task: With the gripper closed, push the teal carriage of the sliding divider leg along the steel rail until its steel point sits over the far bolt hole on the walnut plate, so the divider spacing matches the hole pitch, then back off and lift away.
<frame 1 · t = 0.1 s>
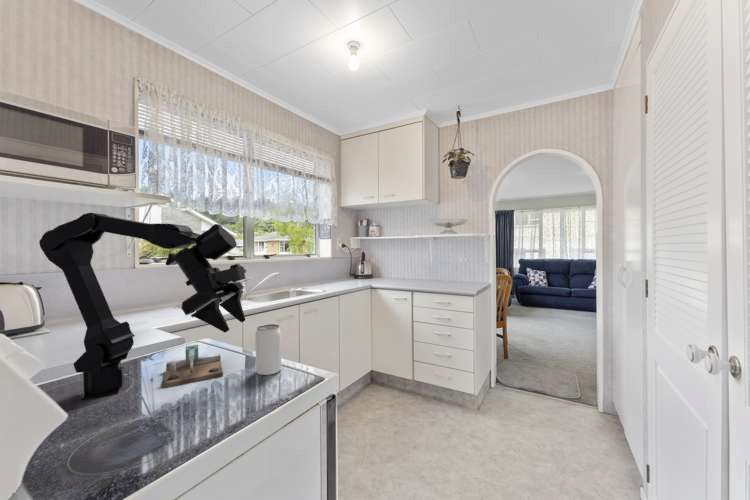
hand: (235, 326, 74), 15 cm above the counter, tool tilted 35°, fingers open, 9 cm apart
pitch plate: (194, 373, 83), on the counter
can: (268, 371, 84), on the counter
divider leg: (191, 358, 84), point 4 cm above the counter, slide at 4.0 cm
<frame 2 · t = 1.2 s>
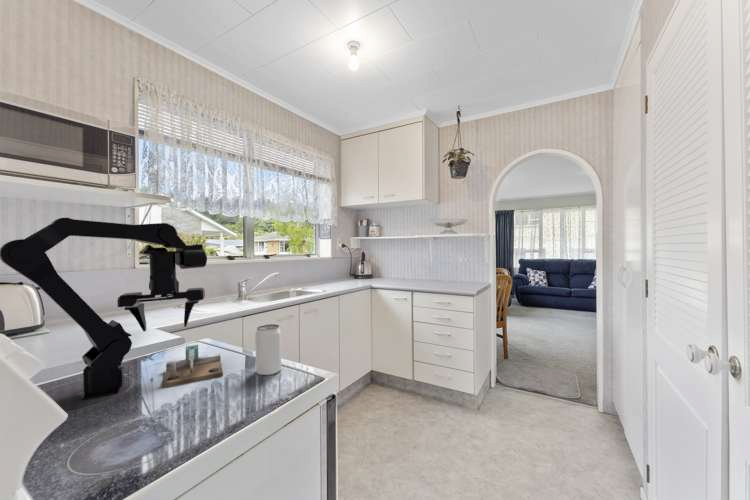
hand: (165, 328, 84), 12 cm above the counter, tool pointing down, fingers open, 9 cm apart
nothing on the counter moved.
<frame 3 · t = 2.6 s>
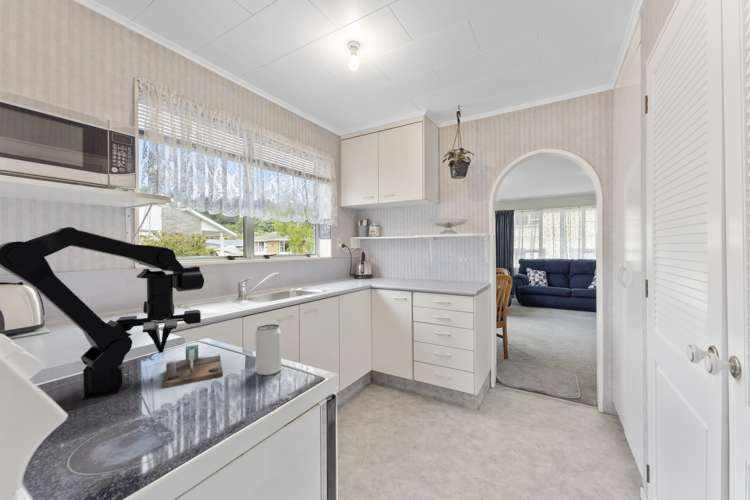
hand: (161, 352, 84), 6 cm above the counter, tool pointing down, fingers closed
nothing on the counter moved.
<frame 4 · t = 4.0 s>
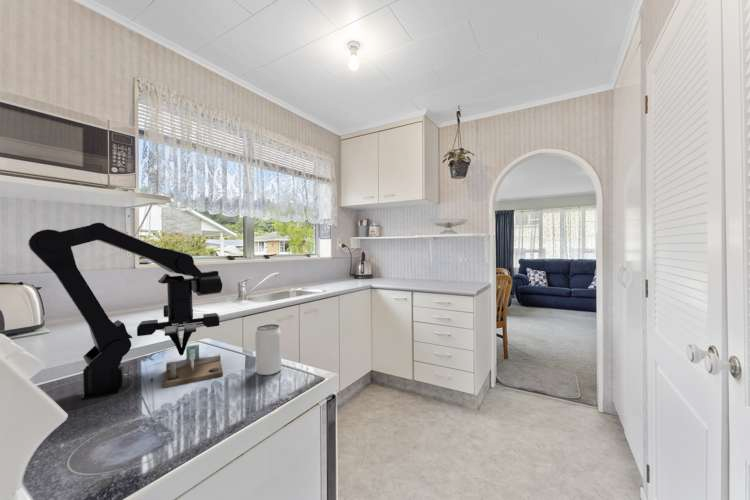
hand: (181, 354, 86), 4 cm above the counter, tool pointing down, fingers closed
divider leg: (192, 358, 84), point 4 cm above the counter, slide at 4.2 cm, touching gripper
everything else where it was.
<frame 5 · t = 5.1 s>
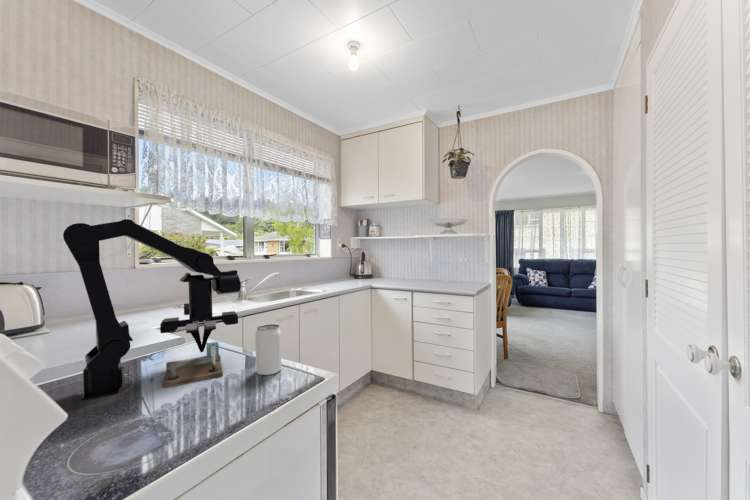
hand: (201, 351, 88), 4 cm above the counter, tool pointing down, fingers closed
divider leg: (213, 355, 87), point 4 cm above the counter, slide at 9.1 cm, touching gripper
everything else where it was.
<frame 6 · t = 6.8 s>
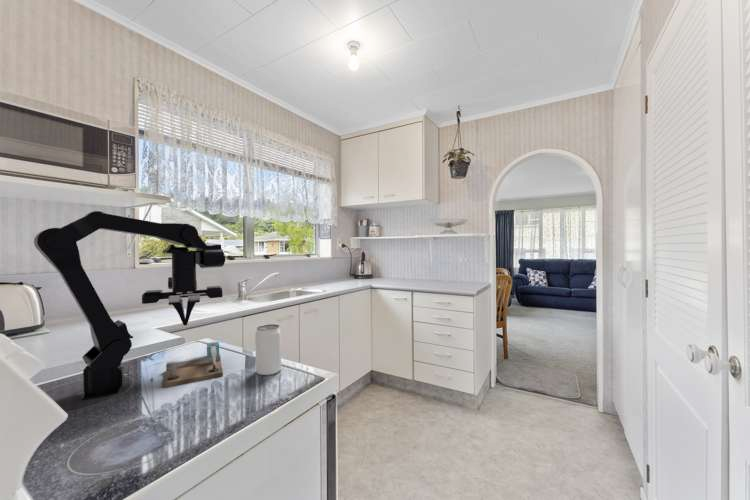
hand: (185, 325, 87), 12 cm above the counter, tool pointing down, fingers closed
divider leg: (213, 355, 87), point 4 cm above the counter, slide at 9.2 cm
everything else where it was.
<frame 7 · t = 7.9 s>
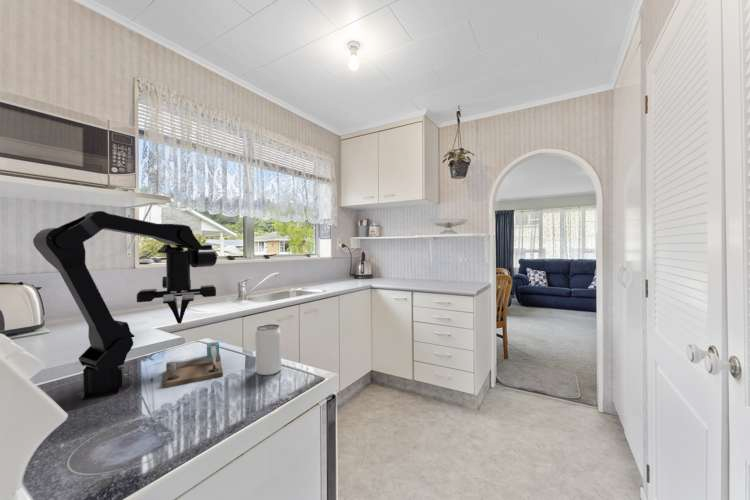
hand: (179, 323, 89), 12 cm above the counter, tool pointing down, fingers closed
nothing on the counter moved.
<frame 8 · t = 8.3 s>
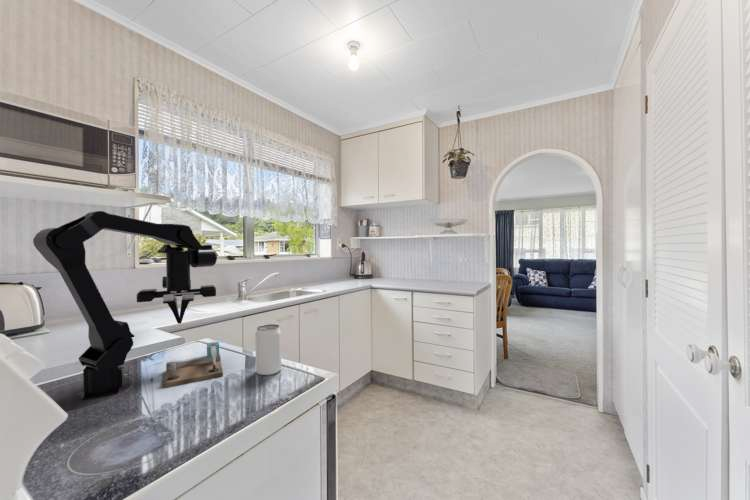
hand: (179, 323, 89), 12 cm above the counter, tool pointing down, fingers closed
nothing on the counter moved.
at the end: divider leg slide at 9.2 cm; can moved 0.2 cm from its start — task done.
